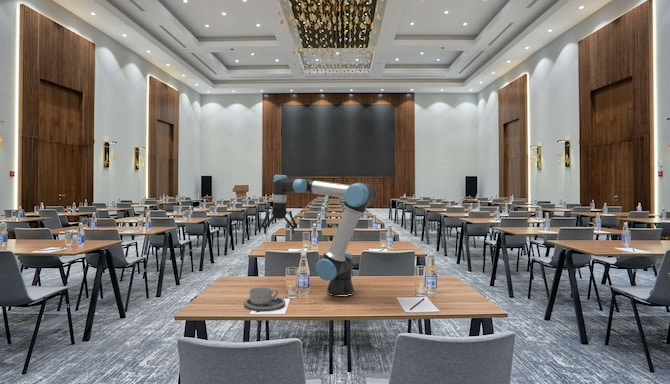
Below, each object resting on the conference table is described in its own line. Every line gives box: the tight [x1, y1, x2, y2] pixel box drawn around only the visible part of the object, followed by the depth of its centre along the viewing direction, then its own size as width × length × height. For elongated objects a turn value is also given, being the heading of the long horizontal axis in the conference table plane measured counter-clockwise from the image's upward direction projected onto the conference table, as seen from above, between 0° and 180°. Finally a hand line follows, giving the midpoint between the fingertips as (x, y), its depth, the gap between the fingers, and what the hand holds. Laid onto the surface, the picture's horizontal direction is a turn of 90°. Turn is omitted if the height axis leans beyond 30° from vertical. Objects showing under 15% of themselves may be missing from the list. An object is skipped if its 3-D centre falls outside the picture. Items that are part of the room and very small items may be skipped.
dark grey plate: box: [243, 296, 286, 312], centre depth 205 cm, size 20×20×2 cm
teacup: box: [249, 286, 279, 306], centre depth 203 cm, size 14×11×8 cm
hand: (278, 239), depth 235 cm, fingers open, 13 cm apart
